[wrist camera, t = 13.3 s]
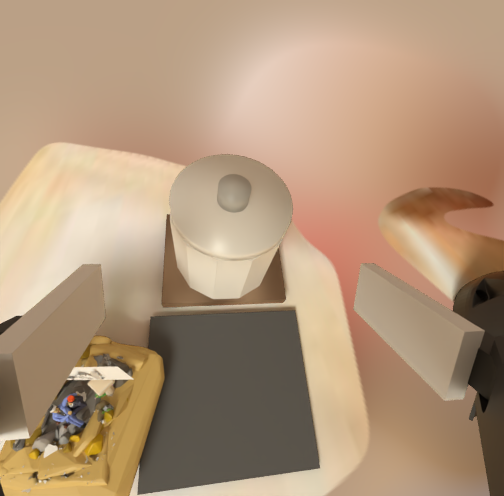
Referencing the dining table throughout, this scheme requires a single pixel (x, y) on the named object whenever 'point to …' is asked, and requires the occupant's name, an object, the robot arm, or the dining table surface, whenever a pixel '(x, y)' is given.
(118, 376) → the cake
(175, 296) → the board
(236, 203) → the pot with lid
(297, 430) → the mat
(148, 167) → the dining table surface
